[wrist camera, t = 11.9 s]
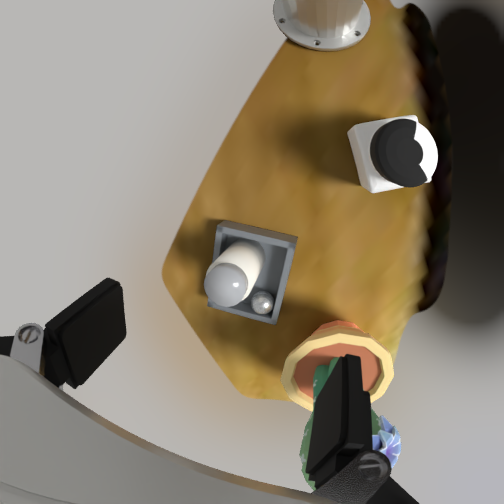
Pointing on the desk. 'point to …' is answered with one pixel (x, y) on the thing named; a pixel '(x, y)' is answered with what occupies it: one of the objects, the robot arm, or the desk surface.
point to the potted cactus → (320, 367)
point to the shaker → (234, 272)
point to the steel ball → (262, 302)
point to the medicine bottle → (393, 153)
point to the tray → (272, 273)
